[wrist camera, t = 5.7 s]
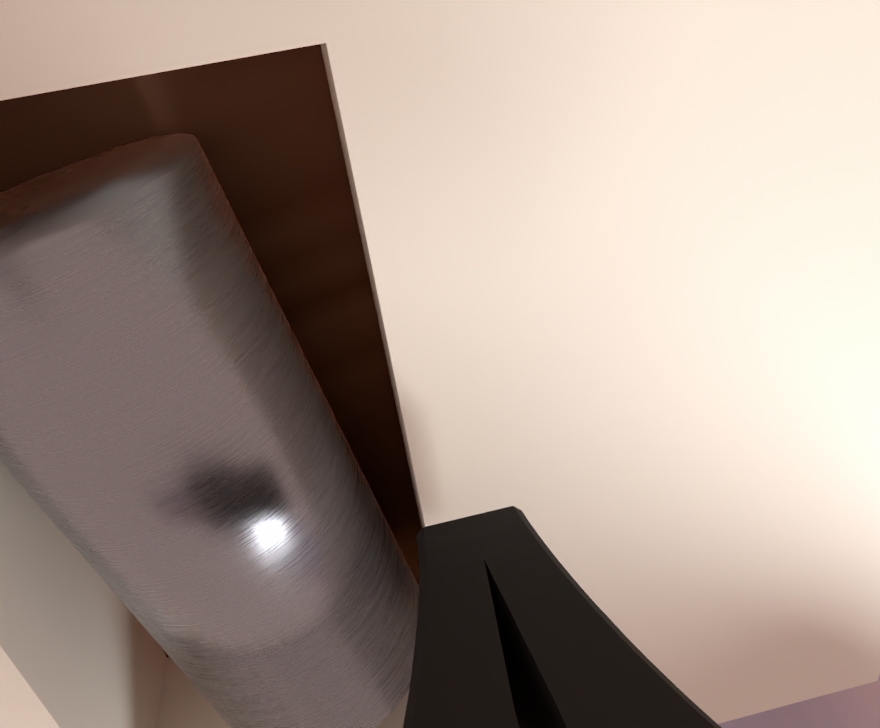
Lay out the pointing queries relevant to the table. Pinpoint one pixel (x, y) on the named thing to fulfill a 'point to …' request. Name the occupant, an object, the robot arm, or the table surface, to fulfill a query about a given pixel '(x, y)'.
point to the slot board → (561, 317)
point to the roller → (195, 442)
